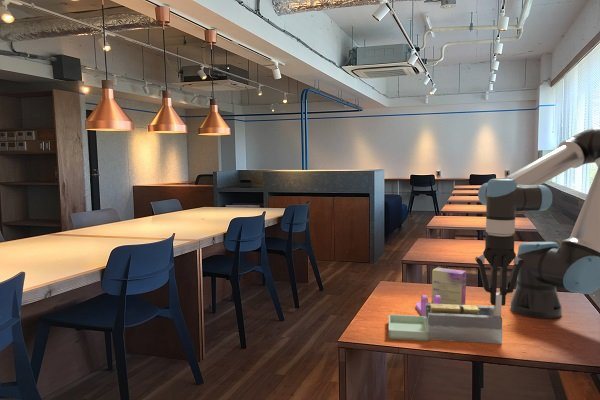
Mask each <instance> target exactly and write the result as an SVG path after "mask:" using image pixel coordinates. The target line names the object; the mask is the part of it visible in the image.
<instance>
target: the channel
mask: <svg viewBox="0 0 600 400" xmlns="http://www.w3.org/2000/svg"><path fill="white" fill-rule="evenodd" d="M430 304H432V302H428V303H426V322H427V326H428V331H429V341H445V342H463V343H476V344H478V343H479V344H494V345H495V344H498V345H500V344H501V345H502V344H503V317H502V315H501V316H494V305H474V306H477V307H478V309H479V315H468V314H462V305H459V307H460V314H447V313H430ZM450 305H454V304H450Z"/></svg>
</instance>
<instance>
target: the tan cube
mask: <svg viewBox="0 0 600 400" xmlns="http://www.w3.org/2000/svg"><path fill="white" fill-rule="evenodd" d="M444 305H445V308H446V313H447V314H460V307H459V305H450V304H444Z"/></svg>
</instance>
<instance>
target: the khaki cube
mask: <svg viewBox="0 0 600 400" xmlns="http://www.w3.org/2000/svg"><path fill="white" fill-rule="evenodd" d="M430 313H446V308H445V305H444V304H434V303H431V304H430Z"/></svg>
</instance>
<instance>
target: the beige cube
mask: <svg viewBox="0 0 600 400" xmlns="http://www.w3.org/2000/svg"><path fill="white" fill-rule="evenodd" d="M477 306H478V305H477ZM477 306H474V305H473V304H472V305H471V304H464V305H462V314H468V315H479V309H478V307H477Z"/></svg>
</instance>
